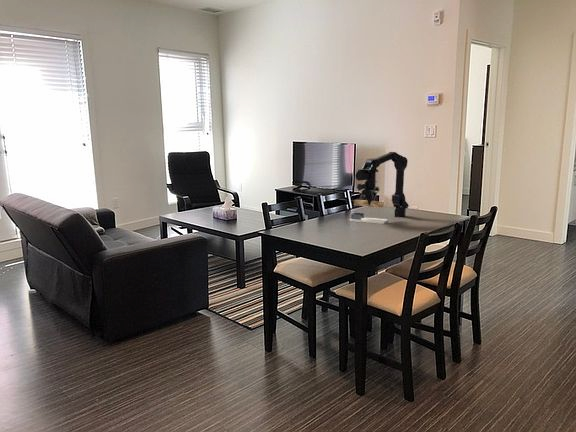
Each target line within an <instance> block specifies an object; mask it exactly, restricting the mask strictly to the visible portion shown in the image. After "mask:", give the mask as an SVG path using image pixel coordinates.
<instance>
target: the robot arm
mask: <svg viewBox="0 0 576 432" xmlns="http://www.w3.org/2000/svg"><path fill="white" fill-rule="evenodd" d="M389 161H392V162H393V166H394V168H395V170H396V174H395V192H394V193H393V194H392V195H391V202H392V204H393V205H392V207H394V208H395V209H394V218H406V217H407V209H408V208H409V203H408V202H407V201H406V195H405V193H404V182H405V181H404V180H405V170H406V169H407V167H408V158H407V157H406V156H403V155H401V154H399V153H398V152H396V151H389V152H387V153H385V154H383V155H380V156H378V157H375V158H369V159H368V158H367V159H366V160H365V163H364V164H363V166H361V167H362V168H361V169H357V171H356V173H355V179H356V180H357V181H364V183H358V184H357V186H356V189H357V191H361V195H363V196H365V197H366V201H368V204H369V205H370V204H371V201H375V198H376V196H377V194H378V192H380V187H379V186H376V183H377V180H376V179H377V177H376V176H377V175H376V173H379V170H378V169H377V168H379V167H380V166H381V165H382V164H384V163H387V162H389Z"/></svg>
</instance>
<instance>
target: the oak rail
mask: <svg viewBox="0 0 576 432" xmlns="http://www.w3.org/2000/svg"><path fill="white" fill-rule="evenodd" d="M353 201H354V202H353V206H355V207H356V206H357V207H359V206H360V207H369V208H383V207H384V201H378V200H377V201H376V200H374V201H371V204H370V205H369V204H368V201H367V199H365V200H363V199H354V200H353Z"/></svg>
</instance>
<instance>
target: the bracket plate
mask: <svg viewBox="0 0 576 432" xmlns="http://www.w3.org/2000/svg"><path fill="white" fill-rule="evenodd" d="M349 222H356V223H358V222H359V223H368V224H378V225H379V224H380V225H385V224H386V222H388V219H386V218H377V217H376V218H375V217H374V218H373V217H365V213H363V212H353V213H351V214H350V218H349Z"/></svg>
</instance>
